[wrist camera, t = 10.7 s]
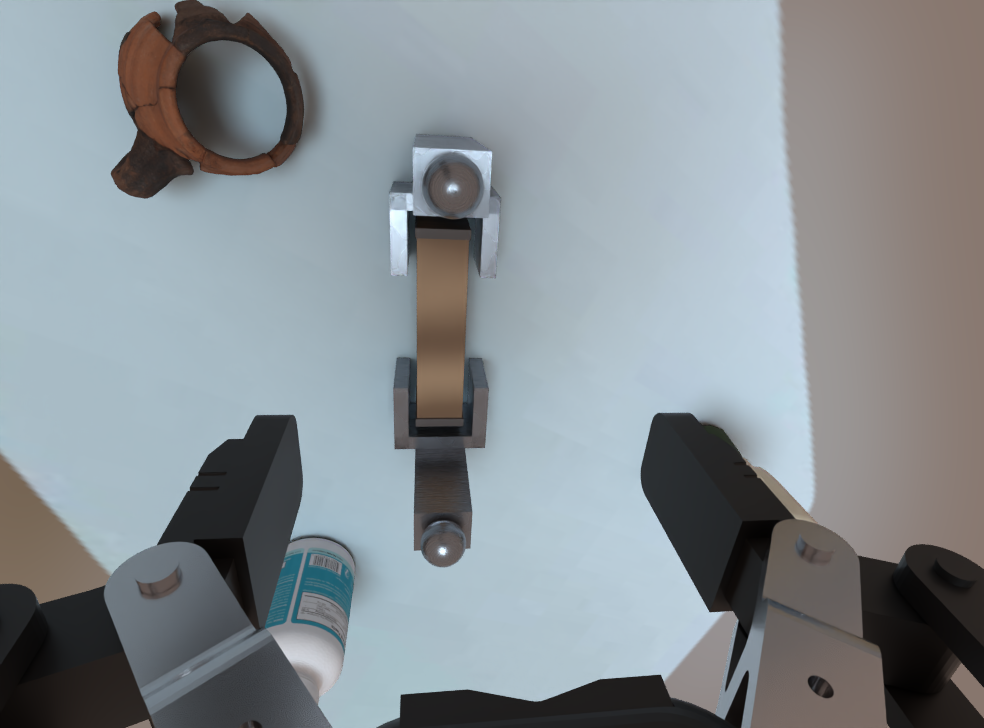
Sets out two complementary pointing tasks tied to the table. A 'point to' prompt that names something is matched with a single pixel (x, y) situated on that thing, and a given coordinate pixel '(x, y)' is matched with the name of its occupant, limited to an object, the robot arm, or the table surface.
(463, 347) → the walnut rail
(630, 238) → the table surface
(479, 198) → the ball knob clevis bracket
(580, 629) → the table surface
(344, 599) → the pill bottle
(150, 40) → the broken pottery vessel
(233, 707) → the robot arm
